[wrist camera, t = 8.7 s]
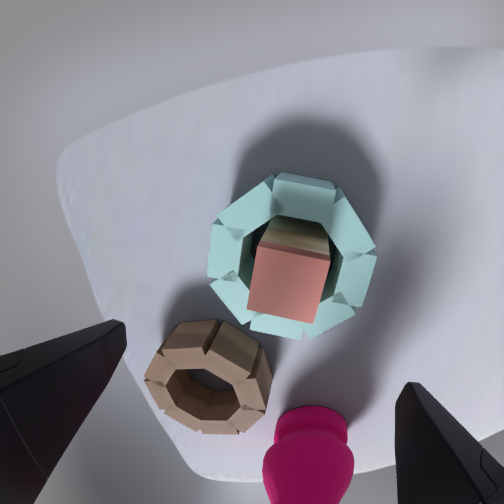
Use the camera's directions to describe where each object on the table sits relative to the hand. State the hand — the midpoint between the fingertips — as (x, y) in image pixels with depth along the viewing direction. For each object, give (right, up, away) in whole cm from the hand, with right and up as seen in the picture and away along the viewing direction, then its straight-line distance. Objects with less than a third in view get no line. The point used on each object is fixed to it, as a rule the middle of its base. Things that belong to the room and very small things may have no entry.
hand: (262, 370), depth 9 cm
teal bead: (+2, +4, +11) cm, 12 cm away
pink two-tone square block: (+2, +4, +11) cm, 12 cm away
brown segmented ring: (-3, -6, +15) cm, 17 cm away
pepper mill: (+5, -12, +16) cm, 21 cm away
